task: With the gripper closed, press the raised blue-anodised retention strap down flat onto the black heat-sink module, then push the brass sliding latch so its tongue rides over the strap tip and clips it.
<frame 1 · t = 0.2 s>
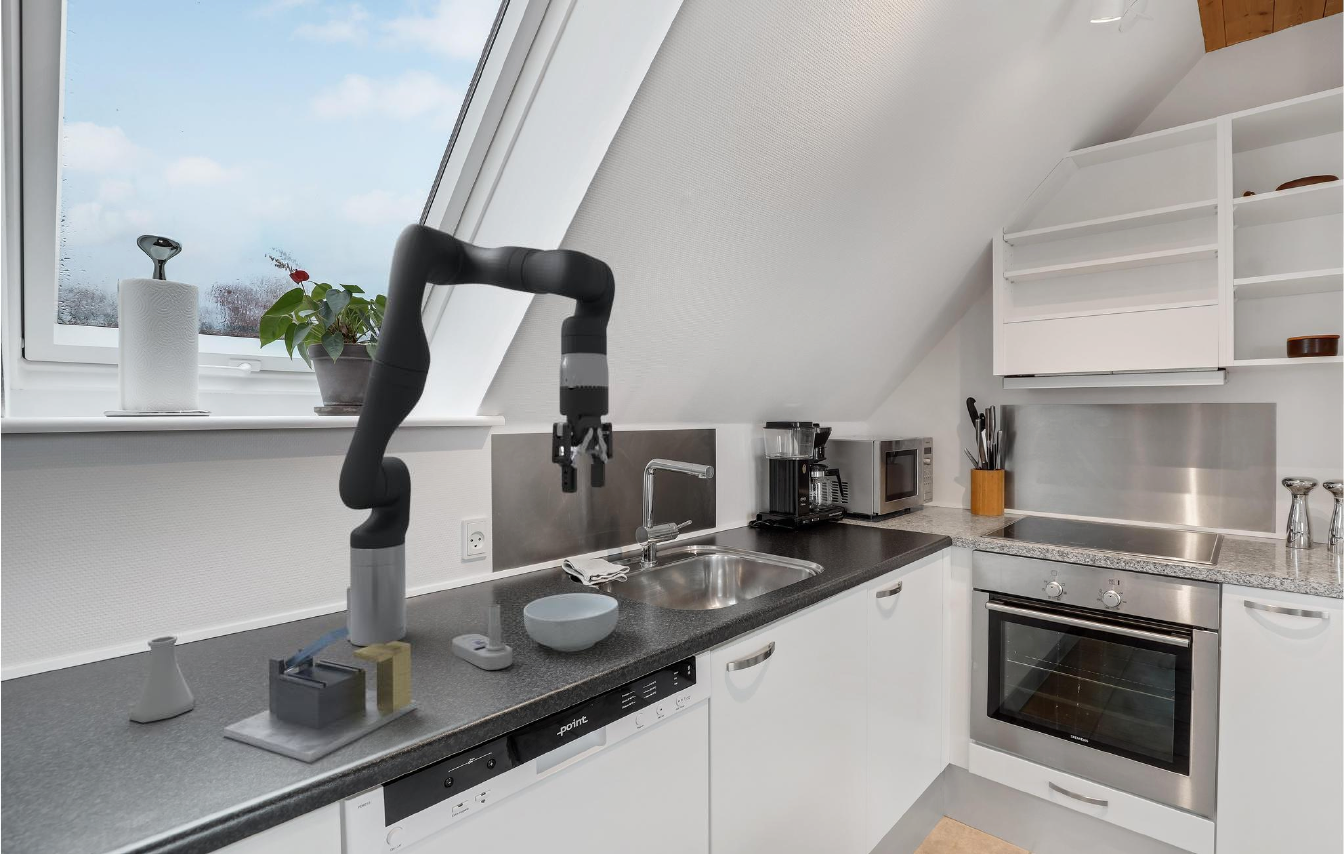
hand: (584, 489, 100), 29 cm above the worktop, fingers open, 8 cm apart
electronic device: (481, 660, 109), on the worktop
flask: (163, 713, 89), on the worktop
clip base: (324, 721, 86), on the worktop
cereal bowl: (571, 645, 116), on the worktop
strap: (313, 649, 87), point 9 cm above the worktop, hinge at 30.0°
latch: (382, 677, 87), point 5 cm above the worktop, slide at 0.0 cm
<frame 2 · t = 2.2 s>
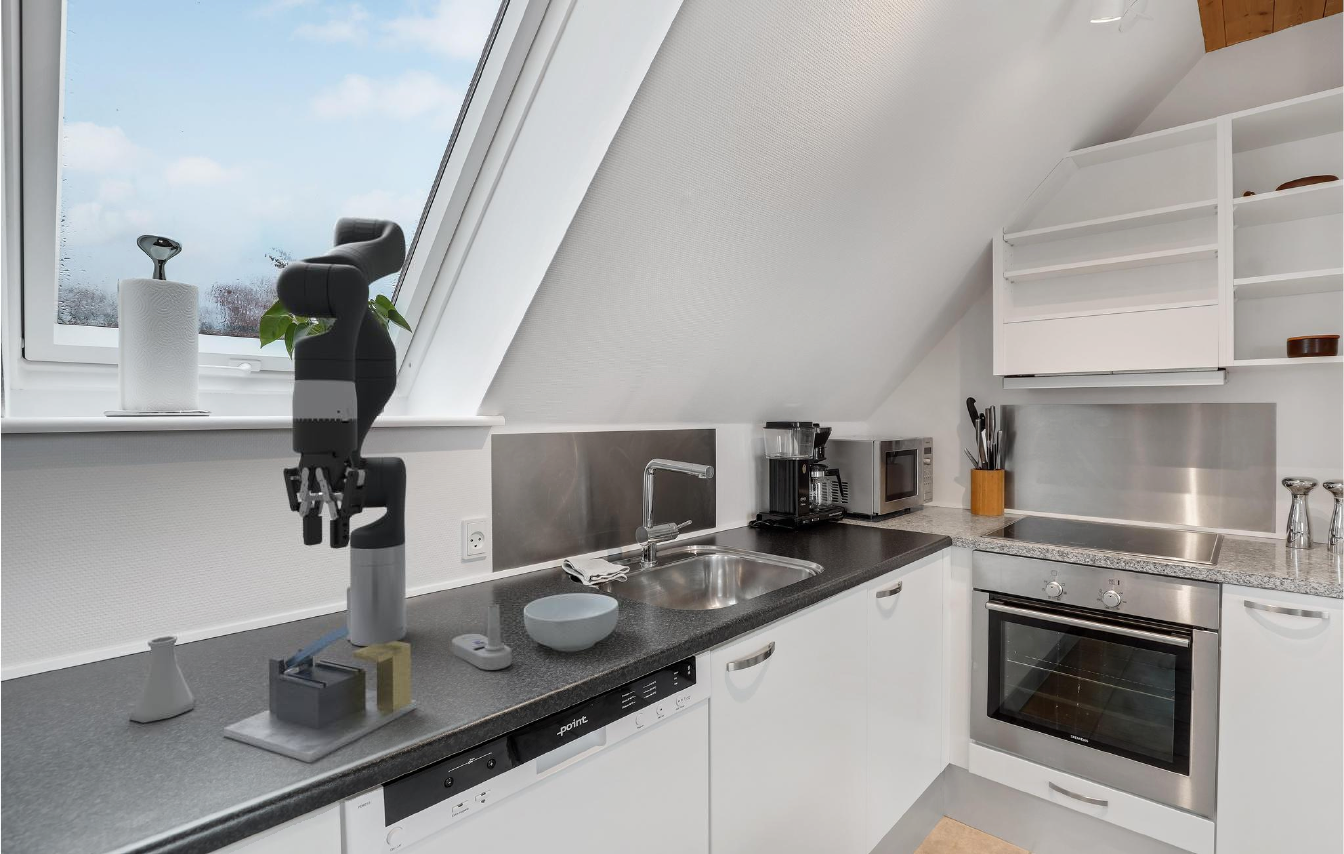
hand: (326, 545, 86), 23 cm above the worktop, fingers open, 4 cm apart
nothing on the worktop moved.
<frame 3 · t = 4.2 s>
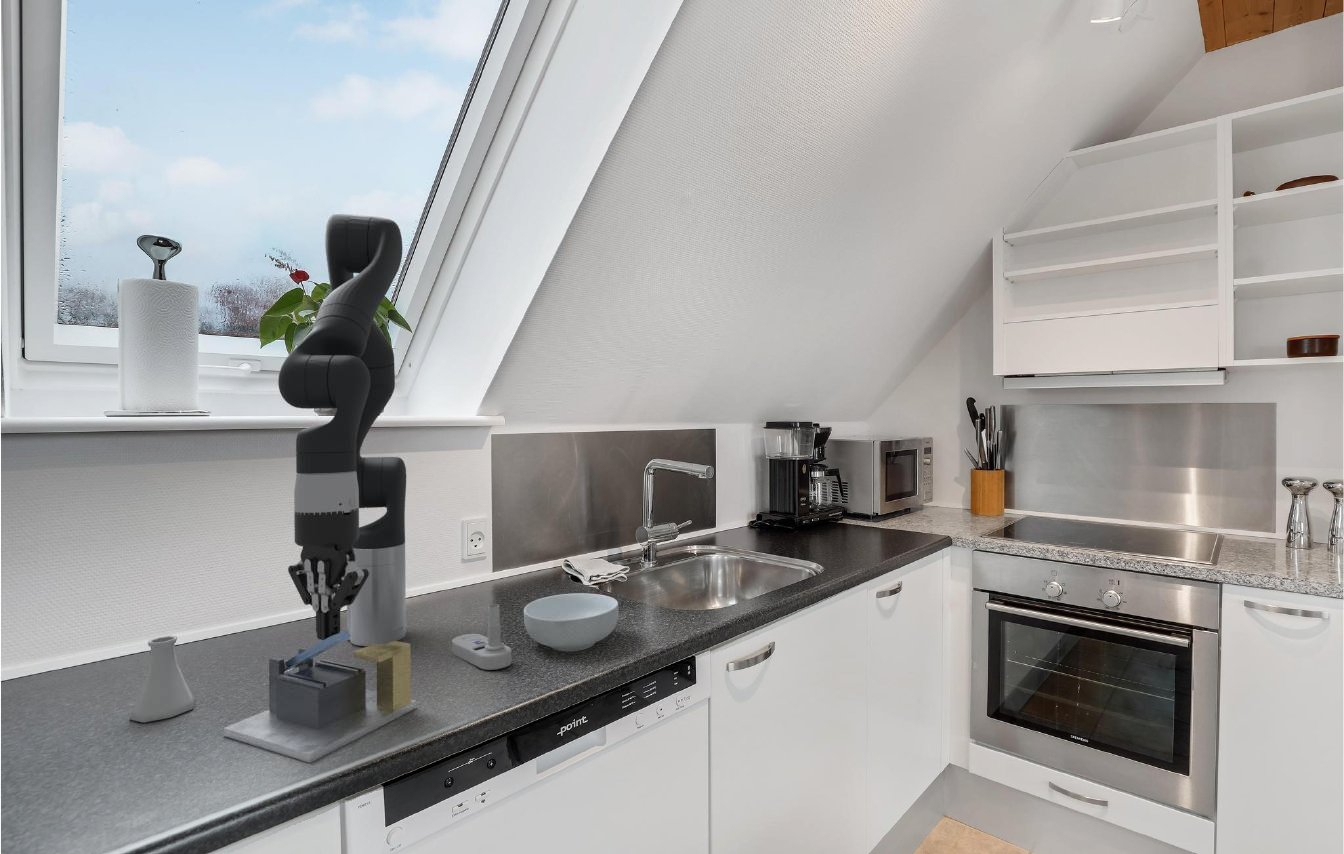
hand: (328, 638, 86), 11 cm above the worktop, fingers closed
strap: (314, 651, 87), point 9 cm above the worktop, hinge at 27.3°, touching gripper
everything else where it was.
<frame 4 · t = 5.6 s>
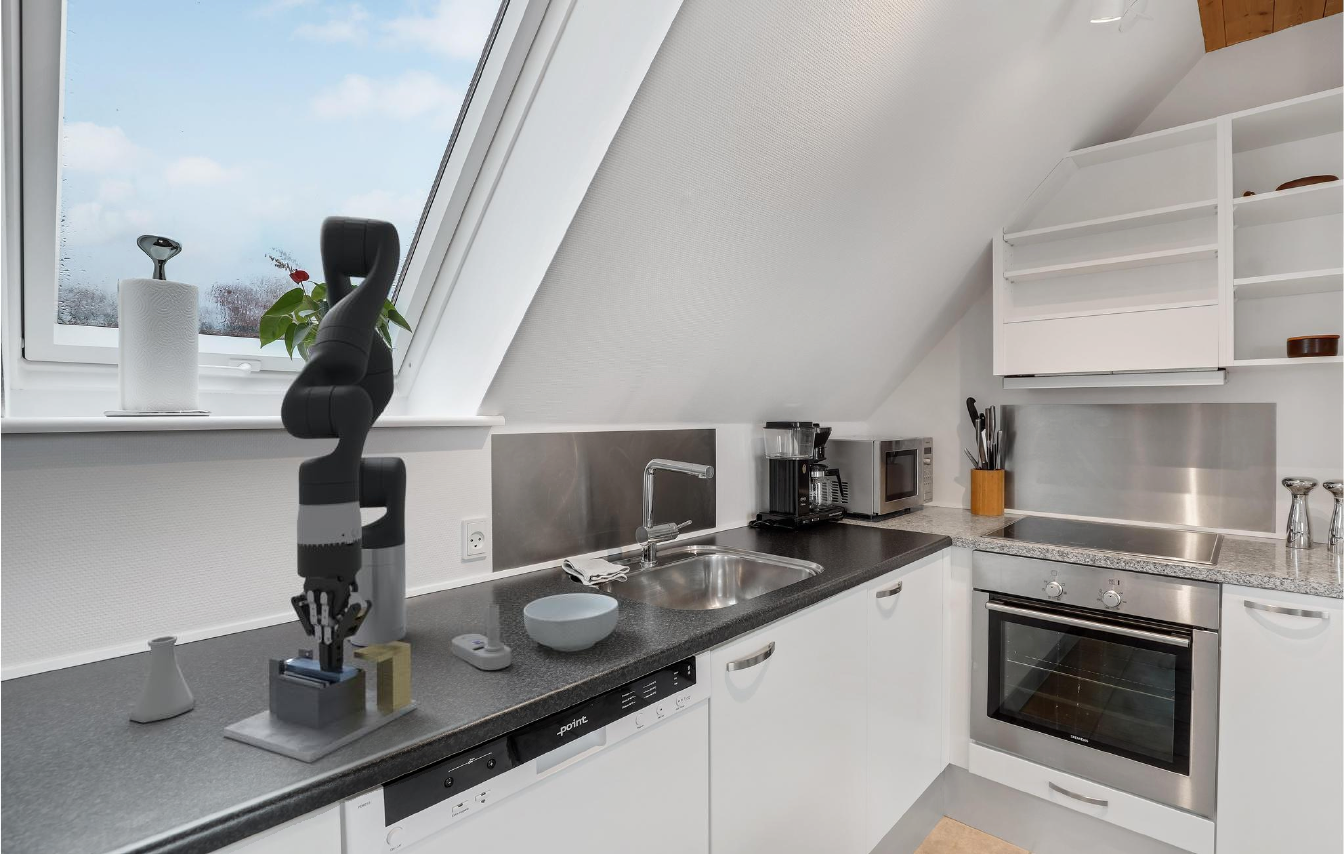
hand: (331, 669, 85), 7 cm above the worktop, fingers closed
strap: (317, 668, 86), point 7 cm above the worktop, hinge at 1.3°, touching gripper
everything else where it was.
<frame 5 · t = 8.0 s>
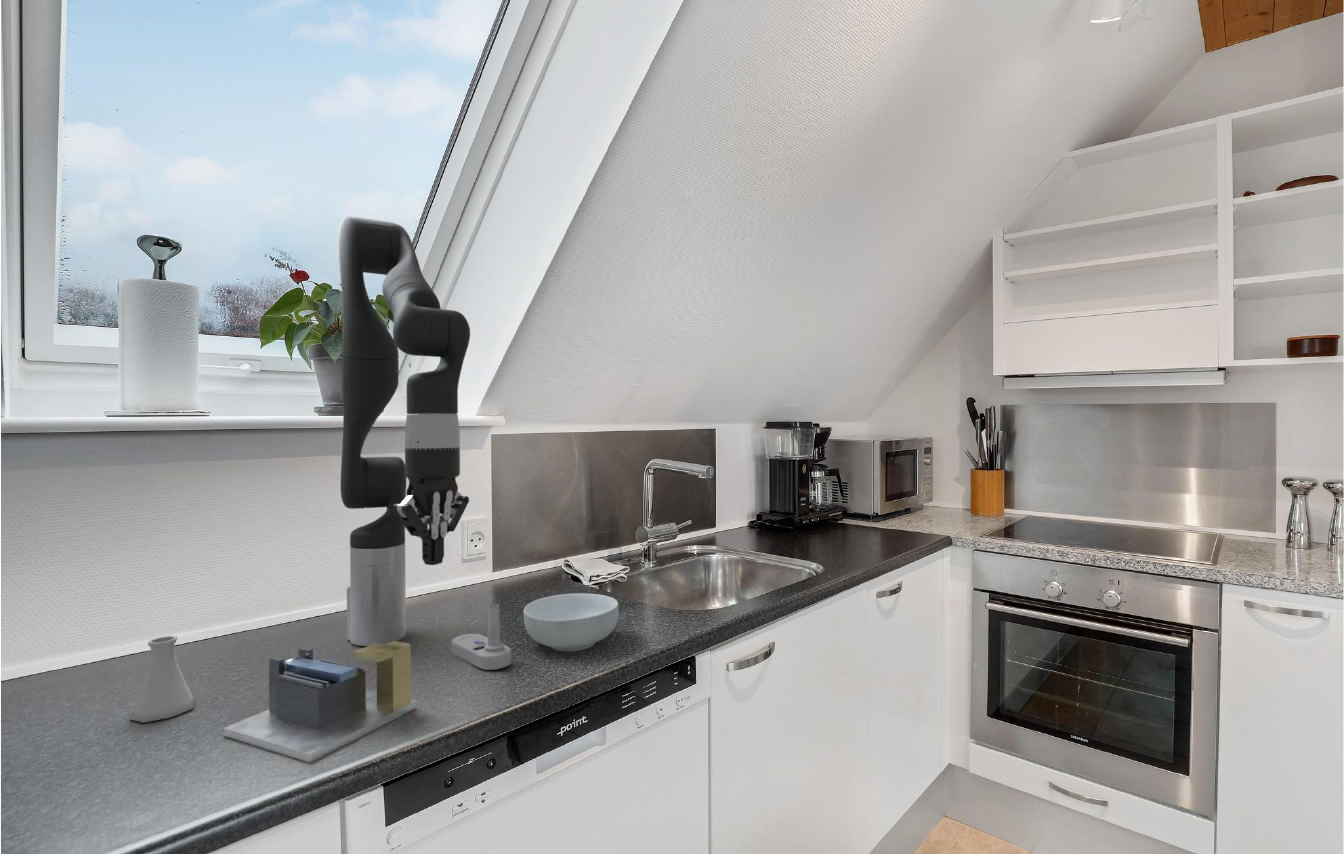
hand: (433, 563, 95), 19 cm above the worktop, fingers closed
strap: (317, 668, 86), point 7 cm above the worktop, hinge at 1.2°
everything else where it was.
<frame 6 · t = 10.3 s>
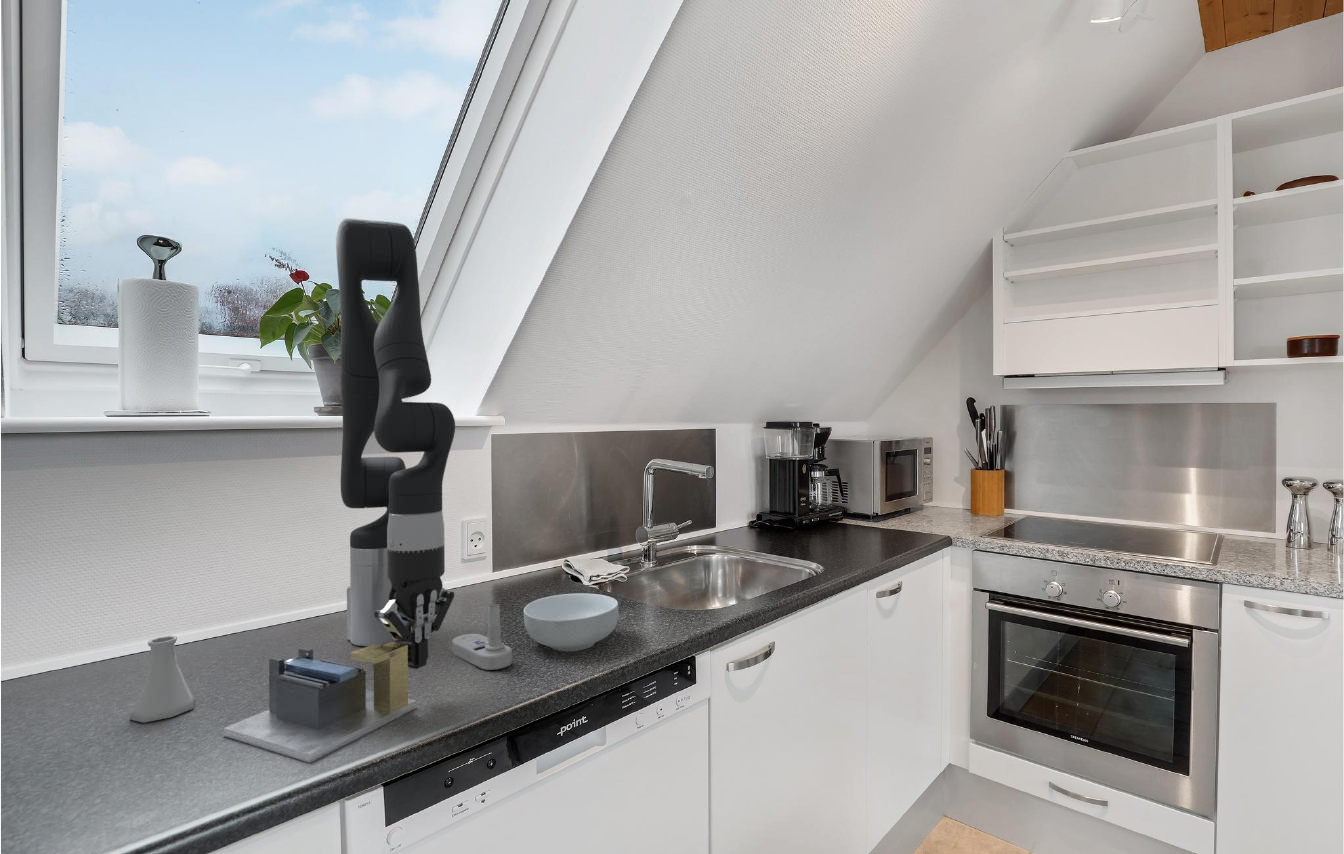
hand: (417, 666, 92), 5 cm above the worktop, fingers closed
latch: (379, 679, 87), point 5 cm above the worktop, slide at 0.5 cm, touching gripper
everything else where it was.
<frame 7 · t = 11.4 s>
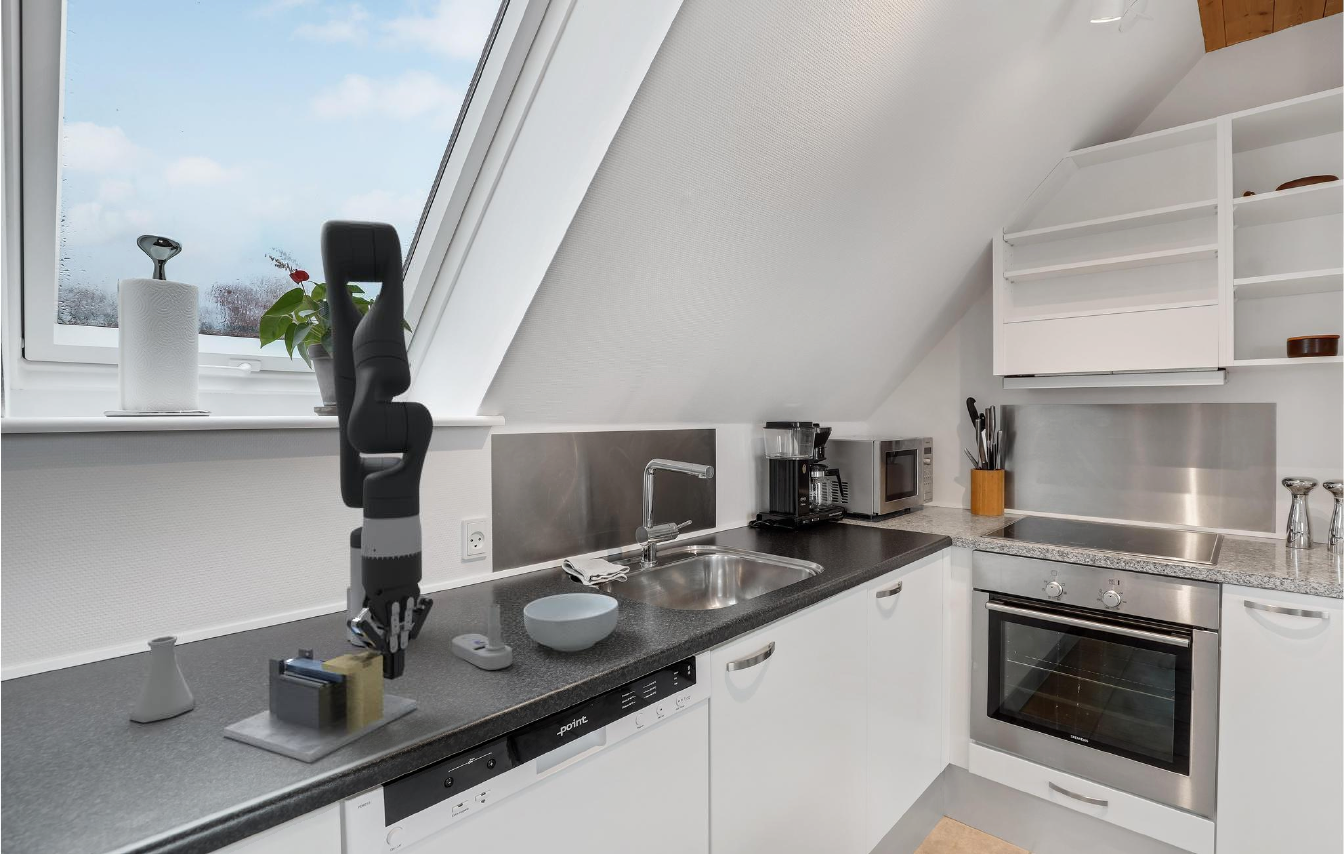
hand: (392, 676, 88), 5 cm above the worktop, fingers closed
latch: (353, 690, 83), point 5 cm above the worktop, slide at 4.7 cm, touching gripper
everything else where it was.
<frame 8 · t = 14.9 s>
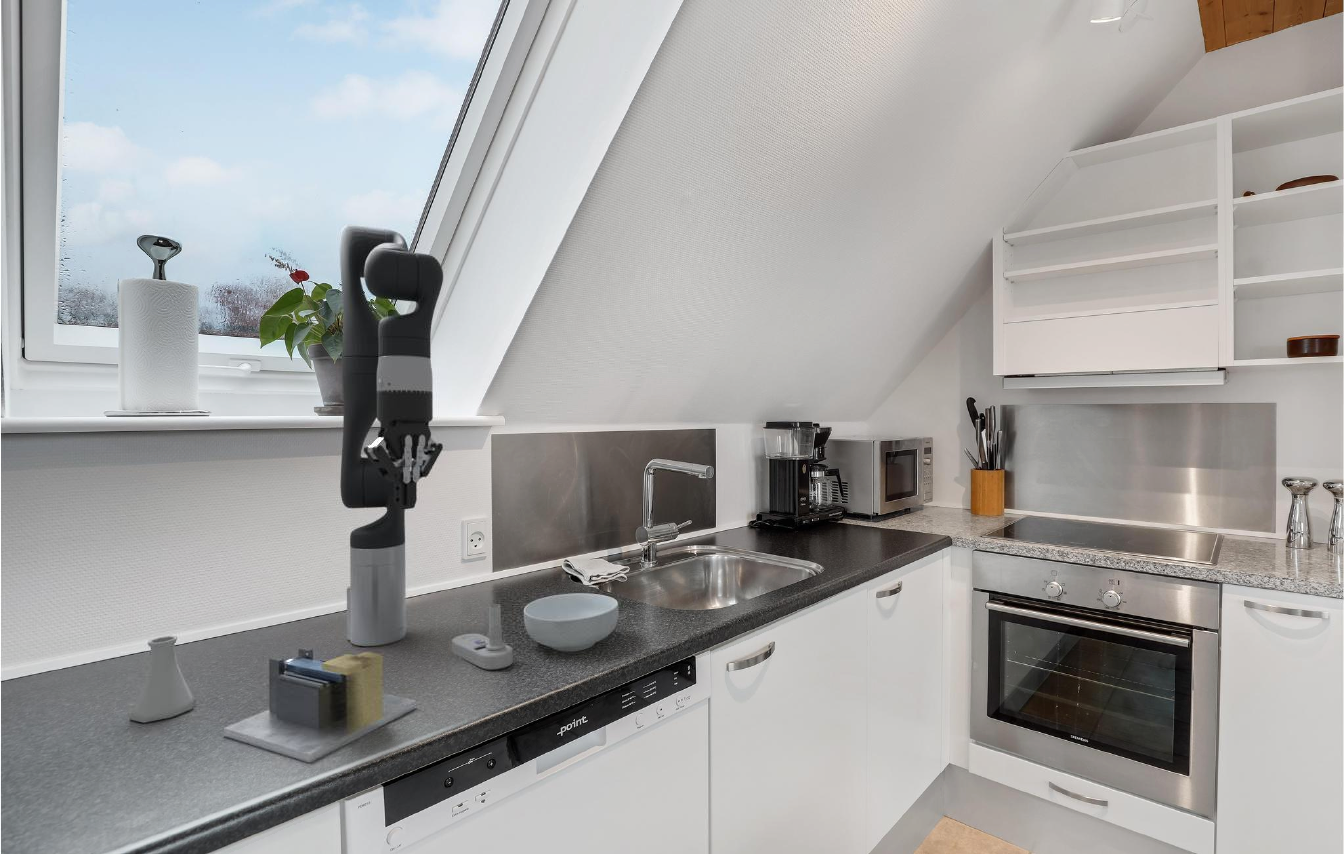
hand: (405, 508, 95), 27 cm above the worktop, fingers closed
latch: (353, 690, 83), point 5 cm above the worktop, slide at 4.7 cm
everything else where it was.
at the end: strap at +1° (first picture: +30°); latch slide at 4.7 cm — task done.
